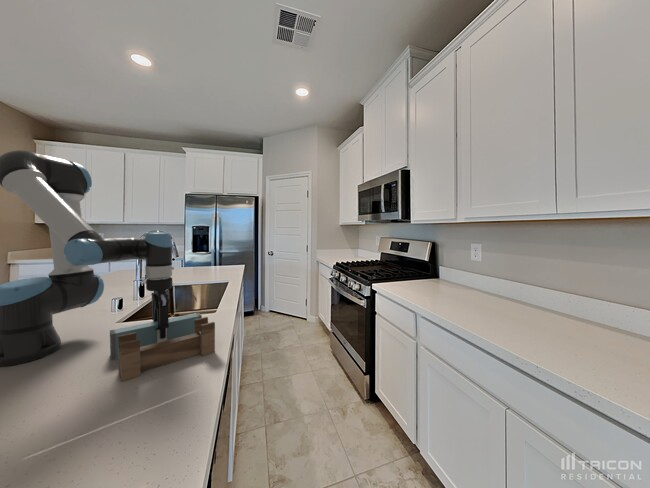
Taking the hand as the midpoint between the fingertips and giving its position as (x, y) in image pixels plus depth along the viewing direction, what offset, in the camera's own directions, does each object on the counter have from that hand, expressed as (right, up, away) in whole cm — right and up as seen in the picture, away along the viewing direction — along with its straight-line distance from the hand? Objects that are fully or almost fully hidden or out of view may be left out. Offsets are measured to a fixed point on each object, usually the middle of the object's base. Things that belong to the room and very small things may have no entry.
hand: (160, 343), depth 87 cm
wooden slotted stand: (+10, -1, -10) cm, 14 cm away
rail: (0, 0, 0) cm, 0 cm away
